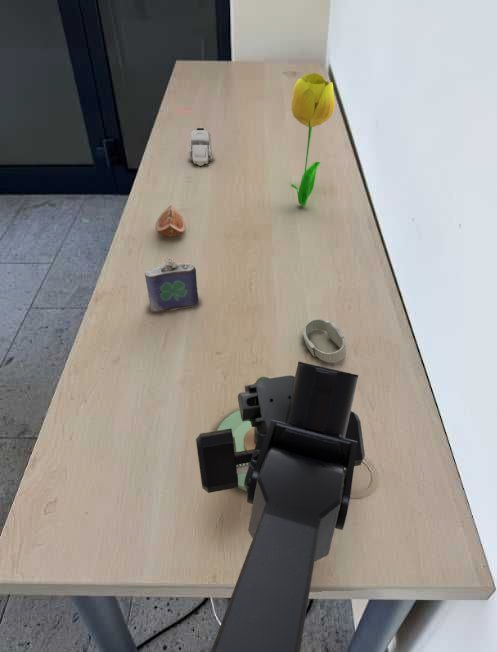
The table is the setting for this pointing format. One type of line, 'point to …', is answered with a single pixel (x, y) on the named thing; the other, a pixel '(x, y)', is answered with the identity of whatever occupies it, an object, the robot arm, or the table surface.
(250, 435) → the strawberry fork
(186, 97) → the table surface
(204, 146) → the white toy car
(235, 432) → the plate
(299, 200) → the flower
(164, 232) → the fruit slice
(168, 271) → the flask
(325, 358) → the wristwatch
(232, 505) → the table surface
